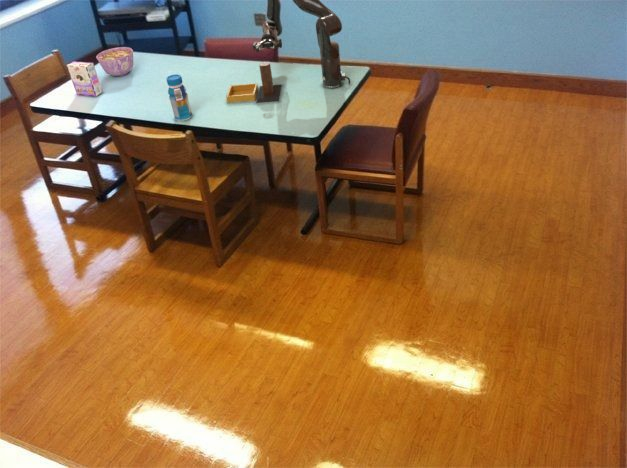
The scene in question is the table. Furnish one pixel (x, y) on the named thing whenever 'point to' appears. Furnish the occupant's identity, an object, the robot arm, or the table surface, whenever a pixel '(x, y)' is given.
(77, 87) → the candy box
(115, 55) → the bowl of food
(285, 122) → the table surface
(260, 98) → the mat
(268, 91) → the brown cylinder
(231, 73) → the table surface
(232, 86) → the bin
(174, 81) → the beverage bottle
